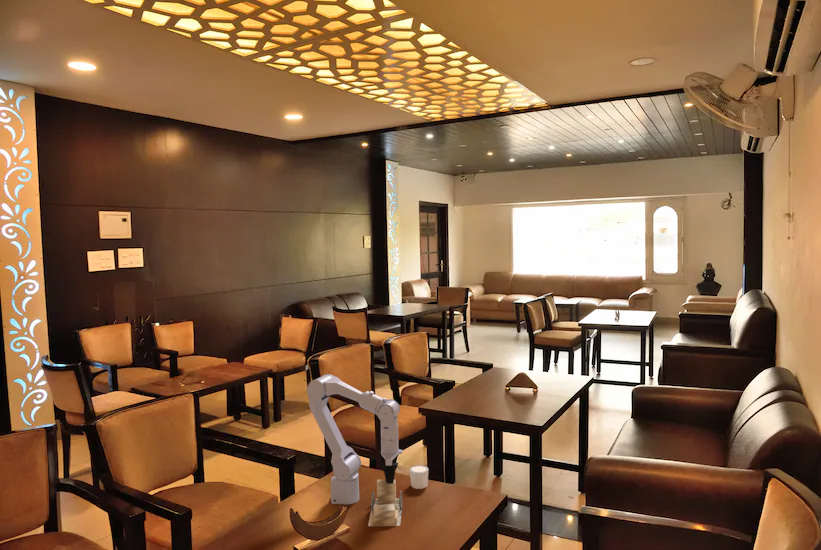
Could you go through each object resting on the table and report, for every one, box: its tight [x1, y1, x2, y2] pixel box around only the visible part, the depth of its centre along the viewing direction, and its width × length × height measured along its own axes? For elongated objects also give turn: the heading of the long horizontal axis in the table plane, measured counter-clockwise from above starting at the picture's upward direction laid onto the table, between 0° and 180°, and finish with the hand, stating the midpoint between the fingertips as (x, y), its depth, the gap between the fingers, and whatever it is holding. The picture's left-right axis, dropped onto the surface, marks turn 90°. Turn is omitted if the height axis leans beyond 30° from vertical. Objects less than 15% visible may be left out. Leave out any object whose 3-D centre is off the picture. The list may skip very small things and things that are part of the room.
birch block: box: [376, 479, 397, 504], centre depth 183 cm, size 6×3×8 cm, turn 88°
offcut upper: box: [374, 504, 396, 518], centre depth 174 cm, size 6×4×2 cm
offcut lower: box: [371, 510, 398, 524], centre depth 174 cm, size 8×5×2 cm, turn 88°
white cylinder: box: [409, 465, 429, 490], centre depth 198 cm, size 7×7×7 cm
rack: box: [367, 490, 403, 527], centre depth 178 cm, size 10×16×5 cm, turn 178°
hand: (390, 478), depth 183 cm, fingers open, 7 cm apart
